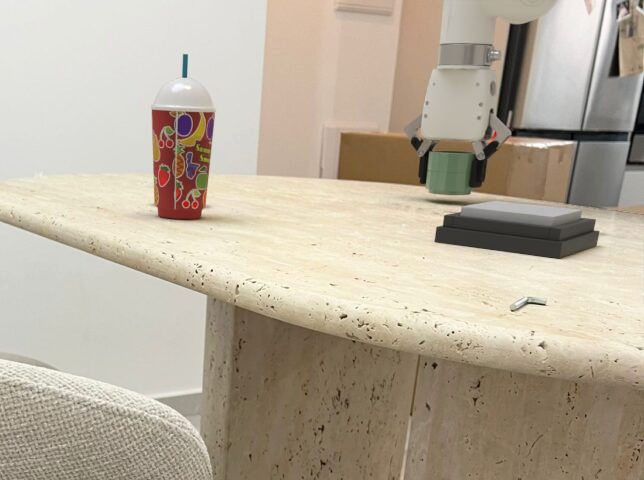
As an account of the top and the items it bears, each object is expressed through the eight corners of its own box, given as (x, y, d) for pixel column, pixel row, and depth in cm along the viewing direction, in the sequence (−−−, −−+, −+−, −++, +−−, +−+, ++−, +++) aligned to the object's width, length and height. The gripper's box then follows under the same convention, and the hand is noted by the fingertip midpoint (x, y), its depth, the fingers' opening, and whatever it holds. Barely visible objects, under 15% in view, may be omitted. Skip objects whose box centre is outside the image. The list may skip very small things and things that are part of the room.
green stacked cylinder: (436, 189, 148) (441, 149, 146) (481, 193, 144) (486, 152, 142) (417, 193, 143) (421, 151, 141) (462, 196, 139) (467, 154, 137)
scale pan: (492, 213, 122) (494, 200, 121) (579, 222, 116) (582, 209, 115) (459, 219, 114) (461, 206, 113) (551, 230, 108) (553, 216, 107)
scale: (480, 231, 126) (484, 206, 124) (596, 245, 117) (601, 219, 116) (434, 241, 114) (437, 214, 113) (559, 258, 106) (564, 229, 105)
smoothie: (210, 222, 122) (218, 54, 115) (146, 219, 122) (150, 51, 115) (211, 214, 130) (218, 56, 122) (150, 211, 130) (154, 53, 123)
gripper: (532, 60, 135) (515, 188, 141) (419, 60, 145) (408, 179, 151) (514, 58, 129) (497, 191, 136) (398, 58, 139) (386, 182, 145)
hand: (450, 184), depth 143 cm, fingers closed on green stacked cylinder, 7 cm apart
